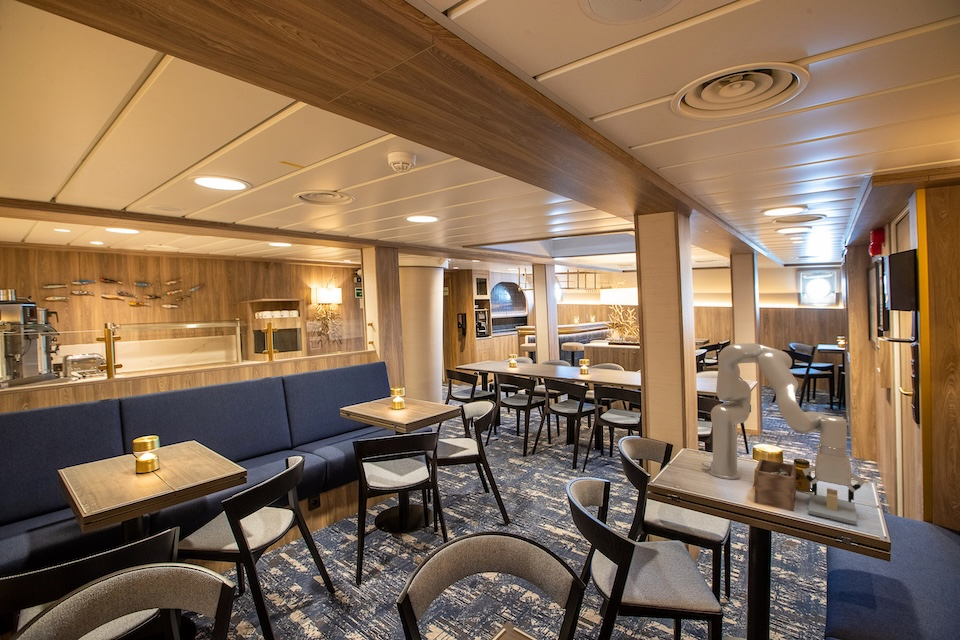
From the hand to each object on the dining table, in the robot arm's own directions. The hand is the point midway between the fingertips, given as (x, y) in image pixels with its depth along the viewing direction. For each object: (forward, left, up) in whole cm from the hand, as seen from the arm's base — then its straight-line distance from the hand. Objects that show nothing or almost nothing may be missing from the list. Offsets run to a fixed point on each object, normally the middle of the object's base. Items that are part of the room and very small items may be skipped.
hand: (832, 497), depth 156 cm
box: (-17, 0, -5) cm, 18 cm away
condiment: (-9, +19, -5) cm, 22 cm away
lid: (0, 0, -5) cm, 5 cm away
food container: (-16, 0, -5) cm, 17 cm away
